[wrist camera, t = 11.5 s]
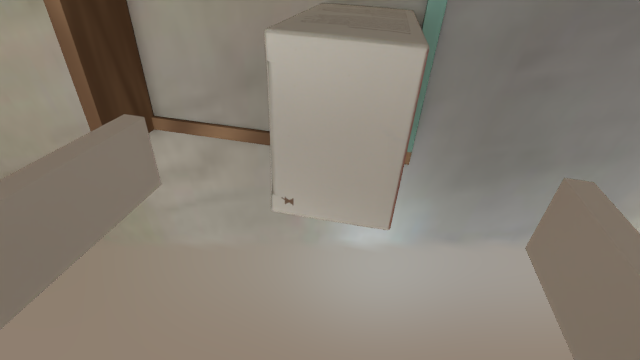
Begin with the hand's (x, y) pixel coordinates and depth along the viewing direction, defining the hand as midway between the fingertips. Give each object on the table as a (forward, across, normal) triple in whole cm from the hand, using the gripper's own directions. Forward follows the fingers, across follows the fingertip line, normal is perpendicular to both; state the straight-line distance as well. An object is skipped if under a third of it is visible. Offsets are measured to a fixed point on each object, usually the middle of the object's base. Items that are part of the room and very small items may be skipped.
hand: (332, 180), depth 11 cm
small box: (+13, 0, 0) cm, 13 cm away
